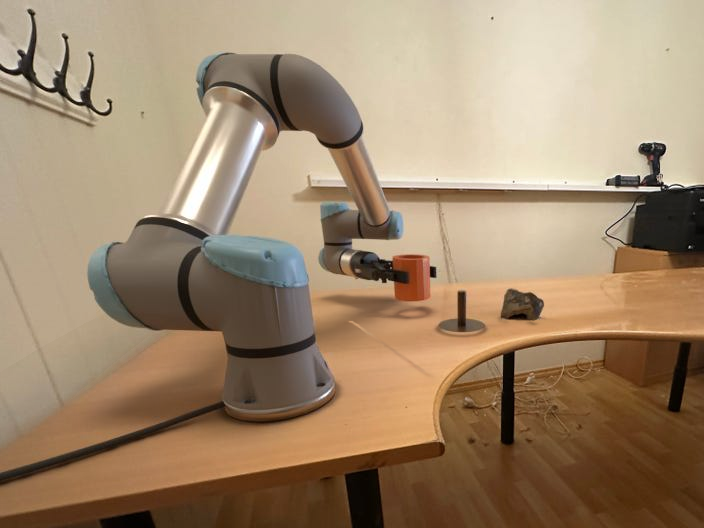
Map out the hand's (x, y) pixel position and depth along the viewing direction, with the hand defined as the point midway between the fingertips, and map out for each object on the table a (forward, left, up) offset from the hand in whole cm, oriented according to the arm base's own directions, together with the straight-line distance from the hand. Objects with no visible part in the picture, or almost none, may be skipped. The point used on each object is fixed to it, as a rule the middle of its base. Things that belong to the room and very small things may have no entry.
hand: (422, 275), depth 97 cm
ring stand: (+4, -12, -11) cm, 17 cm away
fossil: (+22, -13, -11) cm, 28 cm away
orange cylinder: (-1, +3, -6) cm, 7 cm away
